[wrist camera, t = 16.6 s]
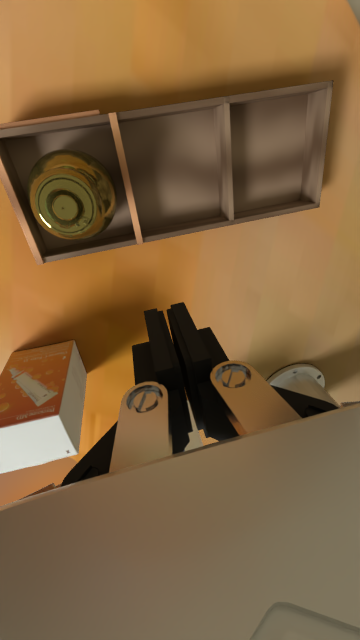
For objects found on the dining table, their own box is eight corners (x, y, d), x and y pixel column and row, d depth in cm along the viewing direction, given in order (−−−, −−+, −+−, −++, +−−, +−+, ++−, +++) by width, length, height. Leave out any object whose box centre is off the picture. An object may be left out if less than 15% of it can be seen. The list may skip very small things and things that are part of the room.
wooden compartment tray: (301, 202, 35) (323, 207, 31) (43, 253, 31) (35, 265, 28) (311, 83, 29) (338, 73, 25) (-7, 130, 25) (-25, 126, 22)
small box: (74, 338, 37) (60, 414, 26) (87, 374, 41) (80, 455, 30) (9, 351, 36) (-34, 436, 25) (28, 387, 40) (-2, 476, 29)
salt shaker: (127, 215, 31) (134, 238, 22) (62, 240, 30) (44, 273, 22) (96, 137, 27) (90, 129, 18) (21, 165, 26) (-20, 170, 18)
